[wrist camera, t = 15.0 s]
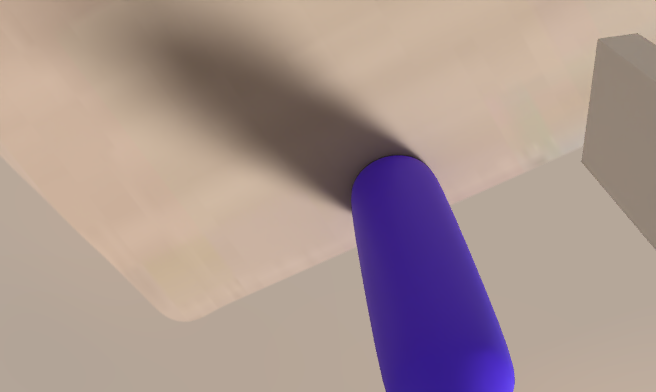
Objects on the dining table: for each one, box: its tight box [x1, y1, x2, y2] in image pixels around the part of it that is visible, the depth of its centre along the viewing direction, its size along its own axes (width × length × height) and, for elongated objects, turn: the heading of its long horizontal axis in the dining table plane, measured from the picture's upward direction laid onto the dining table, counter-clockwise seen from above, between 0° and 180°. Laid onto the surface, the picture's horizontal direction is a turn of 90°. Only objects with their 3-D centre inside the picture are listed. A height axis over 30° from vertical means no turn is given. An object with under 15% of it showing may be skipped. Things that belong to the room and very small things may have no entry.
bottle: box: [351, 155, 515, 392], centre depth 42 cm, size 8×8×30 cm
